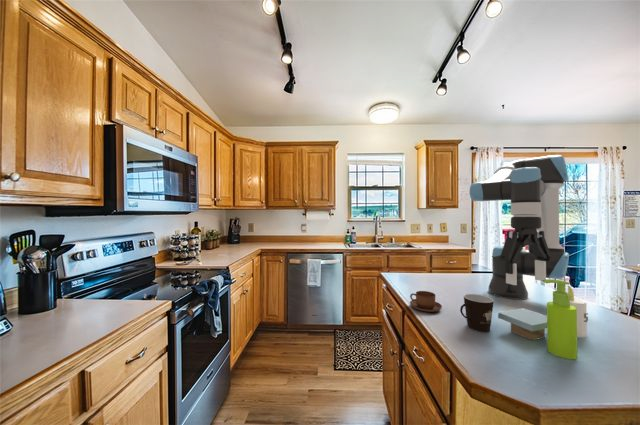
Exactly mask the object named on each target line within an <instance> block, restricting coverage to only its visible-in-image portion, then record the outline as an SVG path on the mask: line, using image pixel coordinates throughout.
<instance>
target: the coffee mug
mask: <svg viewBox="0 0 640 425" xmlns="http://www.w3.org/2000/svg"><path fill="white" fill-rule="evenodd" d="M463 302H464V303H463V304H461V306H460V309H459V311H460V313H461V316H463V317H464V319H466V324H467V327H468V329H470V330H473V331H476V332H479V333H480V332H481V333H488V332H491V325H492V317H493V312H494V311H493V309H494V302H495V301H494V299H493V298H491V297H490V296H486V295H482V294H475V293H467V294H463ZM463 309H464V310H465V313H464V312H463Z"/></svg>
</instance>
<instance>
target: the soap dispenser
mask: <svg viewBox="0 0 640 425" xmlns="http://www.w3.org/2000/svg"><path fill="white" fill-rule="evenodd" d="M541 282H543V283H545V284H556V290H553V291H552V301H548V302H546V316H547V328H546V330H547V331H546V339H547V342H546V343H547V347H546V348H547V351H548V352H549V353H550V352H551V354H552V355H554V356H556V357H560V358H561V359H567V360H576V359H578V337H577V308H576V307H574V306H571V305H570V294H569V293H568V292H567V291H566V285H567V286H570V282H569V281H566V280H563V279H549V278H546V280H542V281H541Z"/></svg>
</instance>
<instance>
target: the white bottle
mask: <svg viewBox="0 0 640 425" xmlns="http://www.w3.org/2000/svg"><path fill="white" fill-rule="evenodd" d="M567 291H568V292H567V293H569V294H570V305H571V306H574V307H576V308H577V338H587V337H588V324H587V323H588V321H589V317H588V315H589V313H587V310H588V309H587V302H586V301H585V300H583V299H580V298H576V297H575V295H574V291H573V289H572V287H571V285H567Z"/></svg>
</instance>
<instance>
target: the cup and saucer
mask: <svg viewBox="0 0 640 425" xmlns="http://www.w3.org/2000/svg"><path fill="white" fill-rule="evenodd" d="M413 296H415V299H414V298H413ZM409 298H410V301H409V304H410V305H411V307H412V308H414V309H416V310H418V311H421V312H427V313H432V312H433V313H435V312H439V311H441V310H442V307H443V306H442V304H441V303H439V302H437V301H436V294H435V293H434V292H431V291H427V290H418V291H416V292H415V293H410V296H409Z"/></svg>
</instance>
